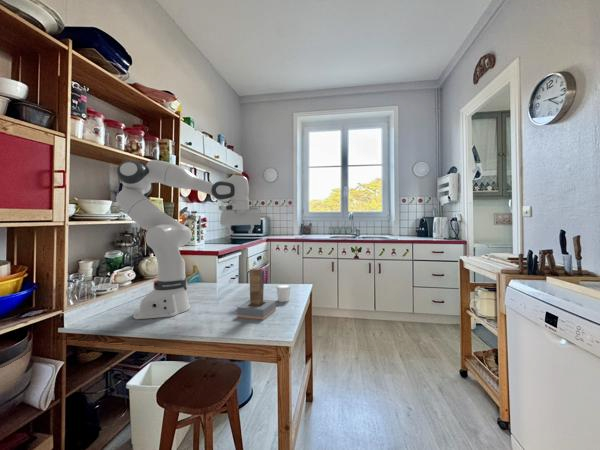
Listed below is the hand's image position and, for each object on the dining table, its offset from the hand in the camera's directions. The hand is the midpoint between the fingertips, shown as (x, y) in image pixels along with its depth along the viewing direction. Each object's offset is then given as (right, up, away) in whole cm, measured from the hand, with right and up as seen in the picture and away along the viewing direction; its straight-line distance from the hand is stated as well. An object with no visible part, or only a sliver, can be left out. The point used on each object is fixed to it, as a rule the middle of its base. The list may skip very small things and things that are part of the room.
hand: (241, 234), depth 135 cm
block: (+12, -32, -22) cm, 41 cm away
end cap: (+12, -33, -22) cm, 41 cm away
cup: (+9, -33, -5) cm, 35 cm away
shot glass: (+22, -33, -4) cm, 40 cm away
